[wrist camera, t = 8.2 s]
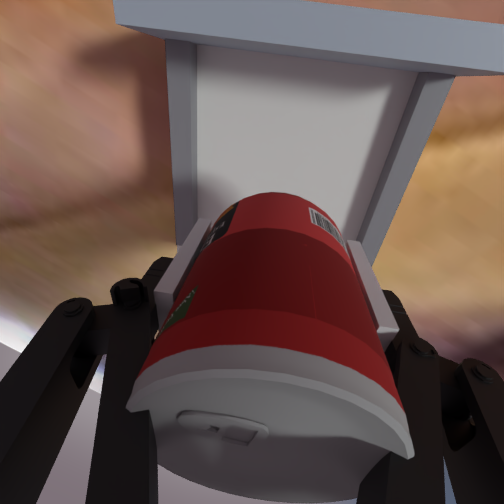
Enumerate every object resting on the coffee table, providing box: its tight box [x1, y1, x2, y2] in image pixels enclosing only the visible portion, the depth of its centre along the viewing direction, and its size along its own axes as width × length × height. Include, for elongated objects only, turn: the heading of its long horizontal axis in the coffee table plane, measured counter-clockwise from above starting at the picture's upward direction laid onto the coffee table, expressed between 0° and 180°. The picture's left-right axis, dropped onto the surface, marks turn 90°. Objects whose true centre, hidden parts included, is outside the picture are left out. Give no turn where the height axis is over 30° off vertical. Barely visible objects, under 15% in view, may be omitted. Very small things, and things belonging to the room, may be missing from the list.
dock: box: [113, 0, 504, 267], centre depth 20 cm, size 18×18×9 cm
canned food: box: [126, 192, 415, 503], centre depth 12 cm, size 8×8×11 cm
